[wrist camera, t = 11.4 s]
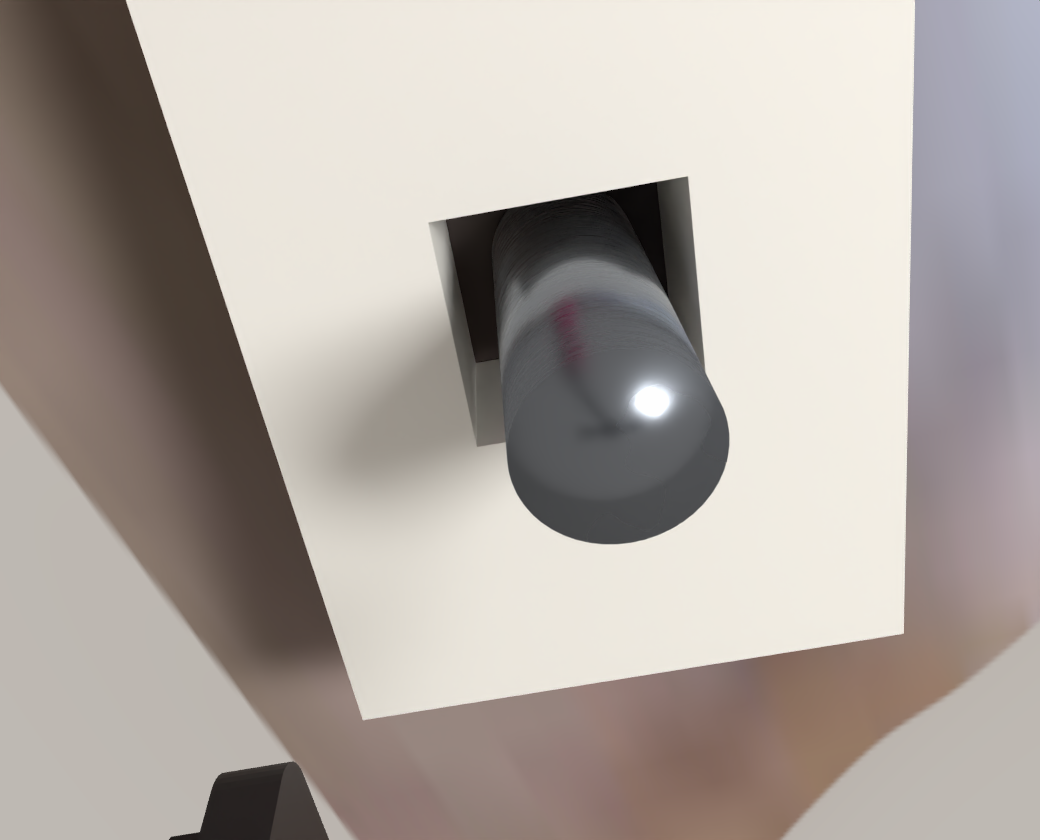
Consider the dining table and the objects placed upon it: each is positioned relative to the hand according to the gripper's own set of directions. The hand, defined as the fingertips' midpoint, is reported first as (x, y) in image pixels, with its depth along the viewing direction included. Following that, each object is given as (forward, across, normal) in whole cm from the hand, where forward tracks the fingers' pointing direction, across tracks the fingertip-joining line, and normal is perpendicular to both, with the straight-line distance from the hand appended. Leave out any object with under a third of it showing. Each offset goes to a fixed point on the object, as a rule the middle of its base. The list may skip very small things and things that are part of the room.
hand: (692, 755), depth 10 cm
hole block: (+16, 0, 0) cm, 17 cm away
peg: (+16, 0, 0) cm, 17 cm away
